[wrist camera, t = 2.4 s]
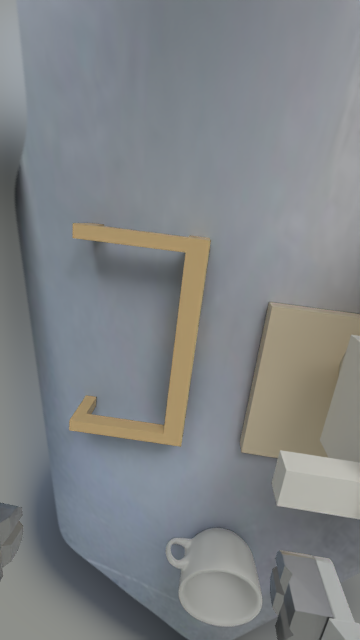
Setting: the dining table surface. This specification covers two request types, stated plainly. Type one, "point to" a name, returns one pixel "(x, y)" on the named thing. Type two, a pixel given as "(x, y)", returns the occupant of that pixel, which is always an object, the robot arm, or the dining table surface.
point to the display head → (308, 408)
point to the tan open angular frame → (184, 337)
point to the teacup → (217, 578)
